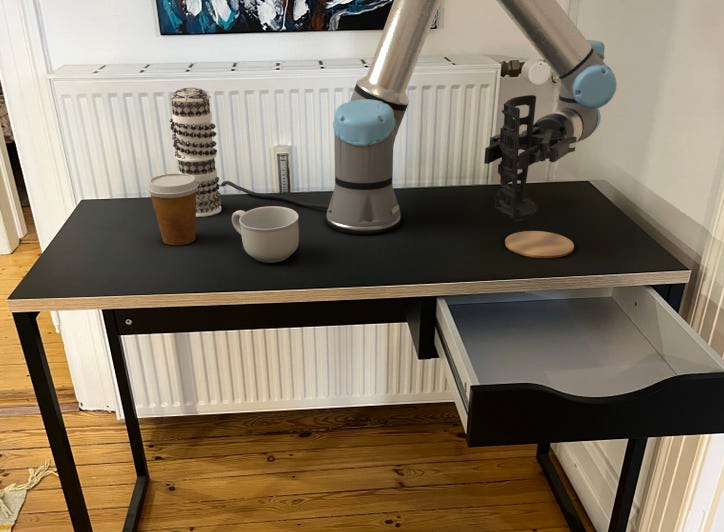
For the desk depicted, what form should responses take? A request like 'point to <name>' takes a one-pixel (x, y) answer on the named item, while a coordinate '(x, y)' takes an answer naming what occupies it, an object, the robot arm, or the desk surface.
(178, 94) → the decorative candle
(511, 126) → the holder
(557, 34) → the robot arm
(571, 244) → the cork mat
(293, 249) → the teacup
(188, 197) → the disposable coffee cup
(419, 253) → the desk surface
